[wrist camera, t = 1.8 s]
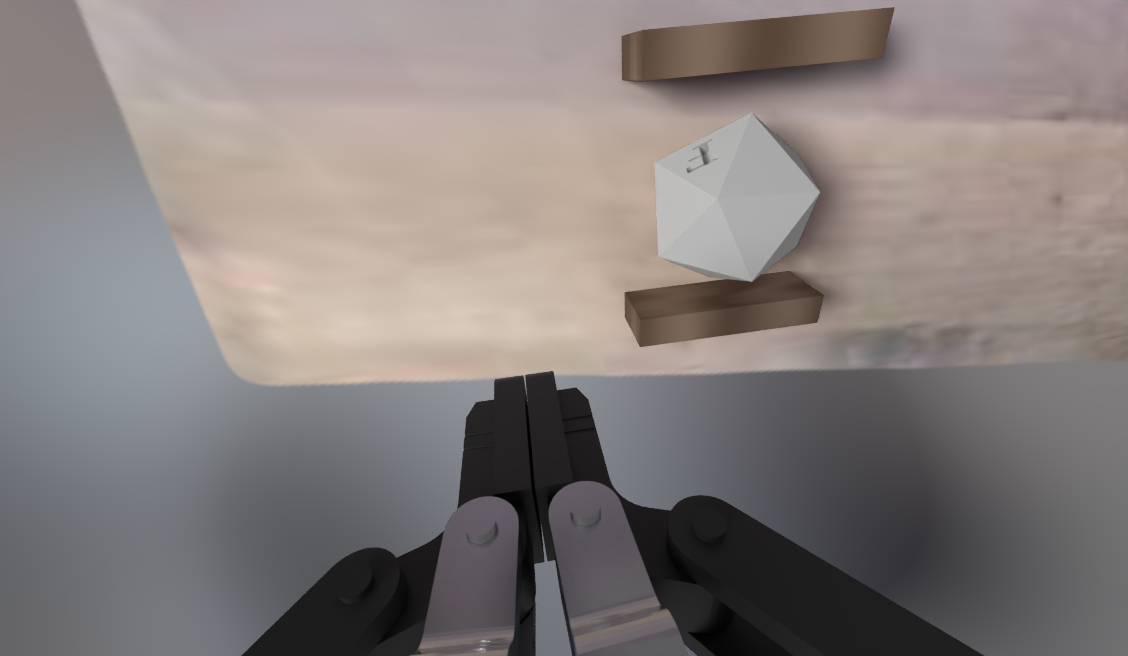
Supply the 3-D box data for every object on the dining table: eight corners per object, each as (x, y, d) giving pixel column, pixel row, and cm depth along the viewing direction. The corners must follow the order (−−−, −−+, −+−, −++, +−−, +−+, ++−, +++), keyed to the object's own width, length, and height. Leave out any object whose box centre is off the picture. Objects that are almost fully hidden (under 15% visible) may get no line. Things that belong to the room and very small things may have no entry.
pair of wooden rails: (837, 16, 24) (894, 7, 21) (783, 296, 33) (817, 322, 29) (621, 36, 23) (642, 29, 20) (625, 317, 32) (640, 347, 28)
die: (779, 114, 27) (780, 58, 18) (827, 248, 27) (849, 253, 19) (654, 176, 31) (606, 153, 22) (696, 293, 31) (665, 314, 22)
